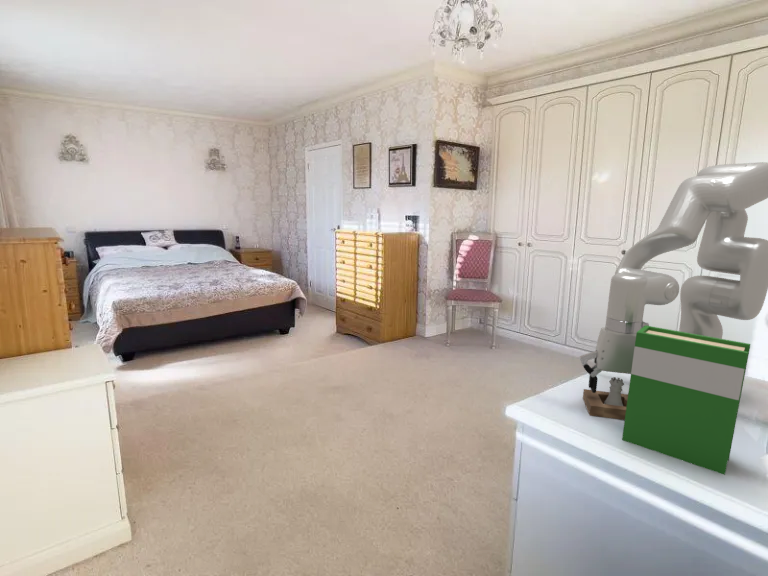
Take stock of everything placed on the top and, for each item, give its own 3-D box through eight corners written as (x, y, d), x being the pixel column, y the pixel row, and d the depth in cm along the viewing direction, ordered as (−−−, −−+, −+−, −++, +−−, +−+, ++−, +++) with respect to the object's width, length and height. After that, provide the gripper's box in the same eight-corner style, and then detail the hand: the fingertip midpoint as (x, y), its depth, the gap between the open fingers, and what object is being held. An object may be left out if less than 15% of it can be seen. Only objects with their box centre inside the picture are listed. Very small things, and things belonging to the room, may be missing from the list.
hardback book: (729, 458, 88) (750, 344, 84) (724, 474, 83) (747, 353, 78) (631, 427, 100) (645, 325, 95) (622, 440, 94) (636, 332, 90)
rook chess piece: (625, 415, 106) (630, 383, 104) (605, 412, 107) (610, 381, 105) (619, 406, 110) (624, 376, 109) (600, 404, 111) (604, 374, 109)
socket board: (651, 406, 110) (652, 397, 110) (665, 425, 101) (666, 415, 101) (582, 398, 115) (583, 389, 114) (589, 415, 105) (590, 405, 105)
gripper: (659, 325, 106) (649, 391, 109) (581, 318, 110) (574, 383, 113) (670, 333, 98) (659, 404, 102) (586, 326, 103) (578, 394, 106)
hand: (614, 393), depth 107 cm, fingers open, 9 cm apart
